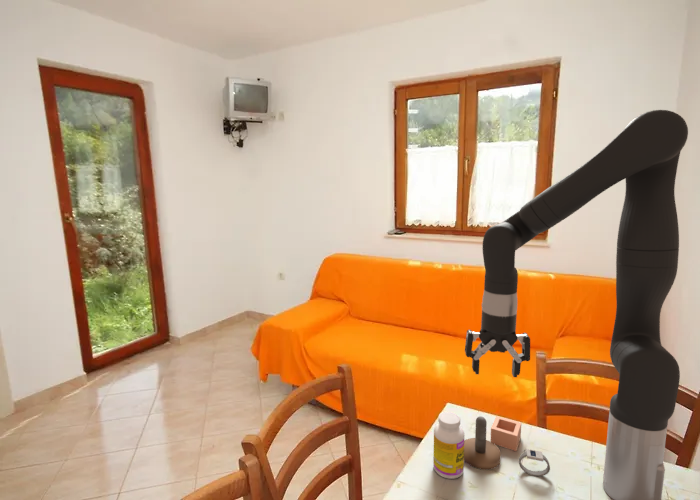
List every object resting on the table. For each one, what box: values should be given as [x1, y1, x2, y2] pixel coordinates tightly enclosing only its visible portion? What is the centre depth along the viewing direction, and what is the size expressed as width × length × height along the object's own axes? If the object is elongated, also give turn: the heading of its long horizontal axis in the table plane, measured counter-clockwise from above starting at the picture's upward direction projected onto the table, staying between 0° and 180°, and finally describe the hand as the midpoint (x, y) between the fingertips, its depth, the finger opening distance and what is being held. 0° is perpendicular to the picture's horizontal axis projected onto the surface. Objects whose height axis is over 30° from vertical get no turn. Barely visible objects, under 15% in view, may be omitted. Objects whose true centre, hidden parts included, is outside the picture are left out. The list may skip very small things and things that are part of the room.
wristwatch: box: [518, 448, 551, 477], centre depth 85 cm, size 6×3×5 cm, turn 70°
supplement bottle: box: [432, 411, 465, 480], centre depth 87 cm, size 7×7×13 cm
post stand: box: [464, 415, 502, 471], centre depth 91 cm, size 9×9×10 cm
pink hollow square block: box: [490, 415, 522, 452], centre depth 97 cm, size 6×6×4 cm
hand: (495, 374), depth 92 cm, fingers open, 8 cm apart
